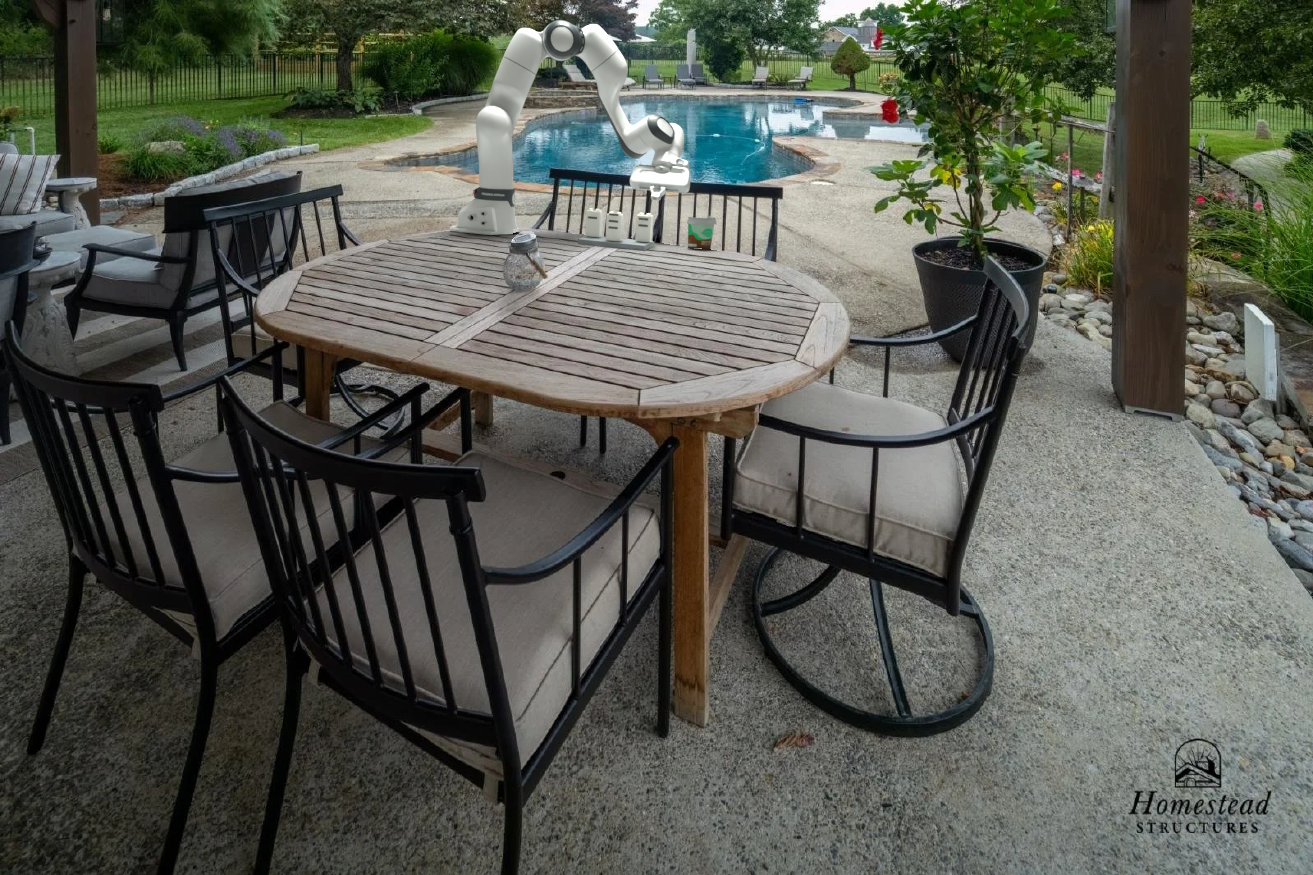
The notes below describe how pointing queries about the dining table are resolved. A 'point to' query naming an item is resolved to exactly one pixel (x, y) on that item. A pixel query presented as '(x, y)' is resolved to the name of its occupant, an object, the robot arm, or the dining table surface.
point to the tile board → (616, 243)
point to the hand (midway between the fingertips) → (655, 198)
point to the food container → (700, 232)
